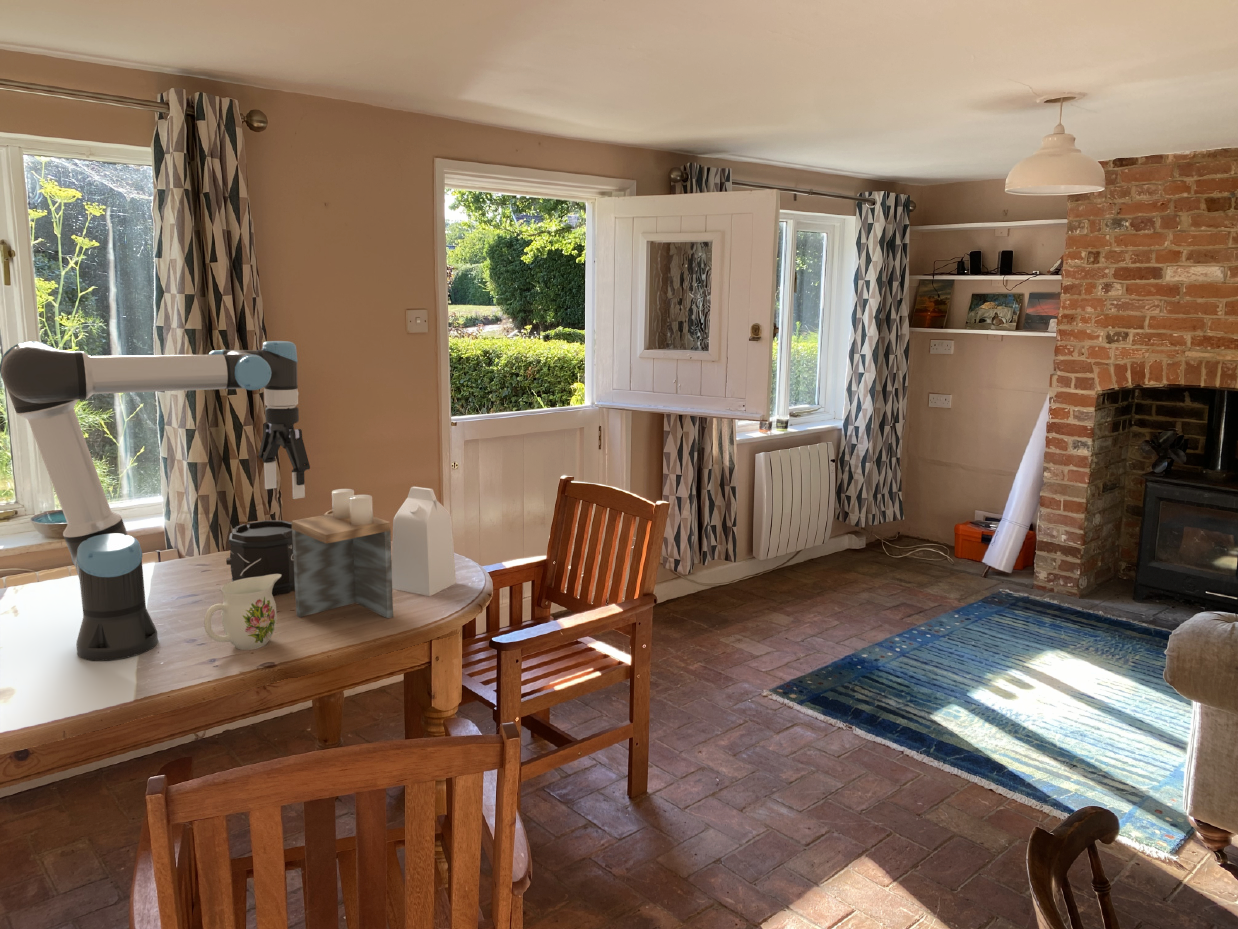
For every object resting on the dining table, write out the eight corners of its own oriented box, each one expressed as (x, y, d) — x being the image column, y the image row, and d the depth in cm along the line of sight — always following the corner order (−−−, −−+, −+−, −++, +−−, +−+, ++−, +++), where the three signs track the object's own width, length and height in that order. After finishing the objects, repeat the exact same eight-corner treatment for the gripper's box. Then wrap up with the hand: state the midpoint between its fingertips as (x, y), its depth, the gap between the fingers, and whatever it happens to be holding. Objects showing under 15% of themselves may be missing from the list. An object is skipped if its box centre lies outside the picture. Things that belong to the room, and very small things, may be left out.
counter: (330, 634, 203) (326, 534, 198) (296, 615, 213) (291, 520, 209) (393, 616, 214) (390, 522, 209) (357, 599, 225) (354, 509, 220)
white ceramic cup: (357, 526, 205) (356, 500, 204) (346, 522, 209) (345, 496, 207) (377, 522, 209) (376, 497, 208) (365, 518, 212) (364, 493, 211)
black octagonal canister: (230, 580, 238) (226, 521, 235) (302, 573, 244) (299, 516, 241) (227, 602, 221) (222, 540, 218) (304, 595, 228) (301, 534, 224)
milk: (456, 583, 239) (454, 486, 234) (429, 596, 229) (427, 495, 223) (418, 576, 244) (416, 481, 239) (391, 588, 233) (388, 490, 228)
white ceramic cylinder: (339, 519, 211) (338, 494, 209) (328, 515, 214) (327, 490, 213) (358, 516, 214) (358, 491, 213) (348, 512, 218) (347, 487, 216)
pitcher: (193, 652, 192) (188, 590, 189) (269, 627, 206) (265, 569, 203) (222, 665, 185) (217, 601, 183) (298, 638, 200) (295, 579, 197)
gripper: (323, 411, 212) (325, 499, 216) (271, 399, 228) (273, 482, 232) (293, 413, 206) (296, 504, 210) (242, 401, 223) (245, 486, 227)
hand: (284, 493), depth 221 cm, fingers open, 13 cm apart
